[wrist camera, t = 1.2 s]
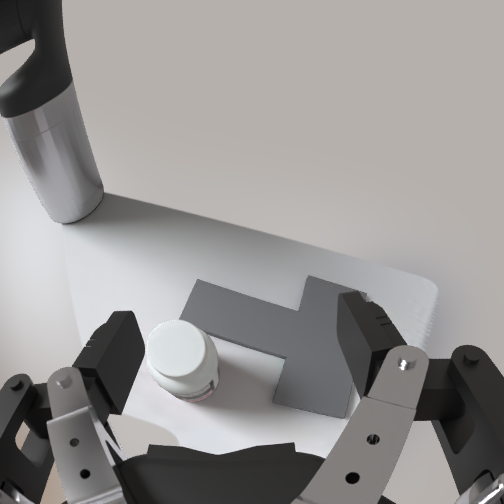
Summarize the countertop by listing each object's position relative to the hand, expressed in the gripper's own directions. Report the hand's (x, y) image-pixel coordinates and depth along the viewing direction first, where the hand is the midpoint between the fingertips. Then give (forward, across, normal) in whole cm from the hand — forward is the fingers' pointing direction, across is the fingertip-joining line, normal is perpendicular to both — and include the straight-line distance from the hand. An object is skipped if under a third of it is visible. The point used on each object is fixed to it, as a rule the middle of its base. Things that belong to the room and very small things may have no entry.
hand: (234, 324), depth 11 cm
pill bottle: (+11, +6, +13) cm, 18 cm away
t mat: (+15, -1, +11) cm, 19 cm away
